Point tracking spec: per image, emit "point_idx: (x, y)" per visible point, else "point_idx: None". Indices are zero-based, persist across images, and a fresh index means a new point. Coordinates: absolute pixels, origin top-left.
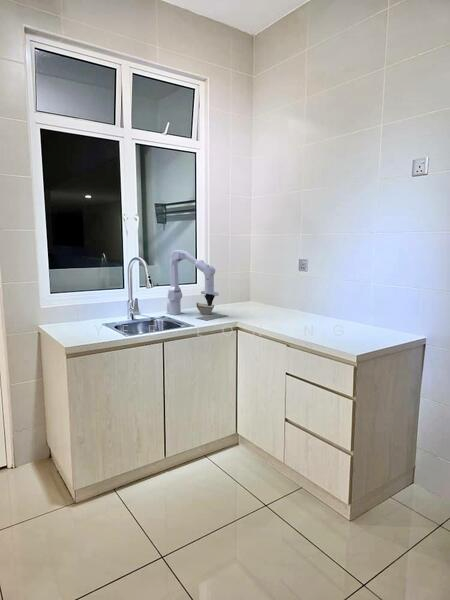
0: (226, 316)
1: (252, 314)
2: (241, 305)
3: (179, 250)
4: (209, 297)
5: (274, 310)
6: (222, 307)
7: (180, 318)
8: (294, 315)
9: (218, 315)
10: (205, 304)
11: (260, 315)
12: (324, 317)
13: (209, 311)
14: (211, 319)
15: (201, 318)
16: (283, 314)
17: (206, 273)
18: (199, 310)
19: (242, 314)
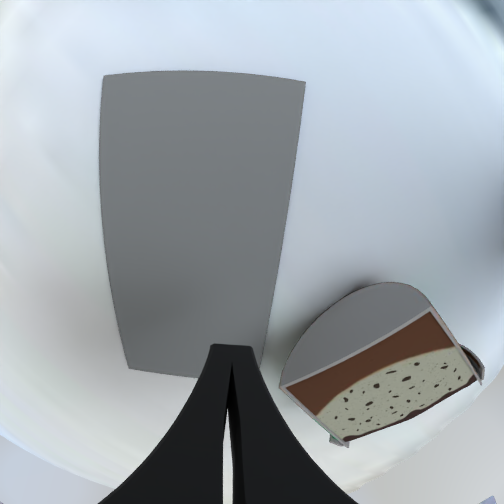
0: (125, 348)
1: (94, 430)
2: None
3: None
4: (103, 500)
5: (122, 478)
6: (350, 460)
7: (438, 24)
8: (19, 433)
9: (194, 340)
10: (405, 413)
11: (56, 420)
12: None
13: (306, 349)
14: (101, 152)
15: (226, 100)
16: (43, 441)
17: None
18: (407, 287)
19: (122, 422)
